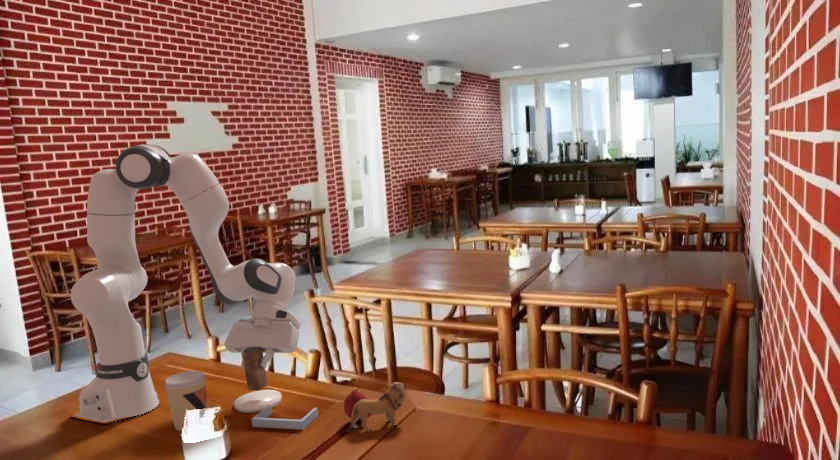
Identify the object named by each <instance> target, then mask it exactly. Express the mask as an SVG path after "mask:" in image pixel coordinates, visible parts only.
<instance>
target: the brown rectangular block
mask: <svg viewBox="0 0 840 460" xmlns="http://www.w3.org/2000/svg"><path fill="white" fill-rule="evenodd" d="M242 354H243V359H242V360H243V361H244V367H245V368H244V372H245V380H246V386H247V391H260V390H264V388H266V387H267V386H268V381H267V379H268V378H267V374H266V368H260V367H259V366H258V363H259V359H262V358H263V357H264V353H263V351H262V348H261V347H249V348H247V349H245V350H244V351H243V353H242Z"/></svg>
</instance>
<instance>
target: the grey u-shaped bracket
mask: <svg viewBox="0 0 840 460" xmlns="http://www.w3.org/2000/svg"><path fill="white" fill-rule="evenodd" d="M272 414H273V410H272V408H271V406H267V407H266V408H265V409H263V410H262V411H260V412H259V413H258V412H257V414H255V415H254V416H253V417H252V418H251V419H250V420H251V426H252V428H268V429H285V430H299V431H301V430H305V429H306V428H307V427H308V426H309V425H310V424H311V423H312V422H314V420H315V419H316V418H317V417H319V409H318V407H313V408H312V409H311V410H310V411H309V412H308V413H307V414H306V415H305V416H304V417H302V418H301V419H296V418H295V419H294V418H293V419H290V418H275V417H274V418H272V417H270V416H272Z"/></svg>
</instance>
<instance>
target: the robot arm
mask: <svg viewBox="0 0 840 460" xmlns="http://www.w3.org/2000/svg"><path fill="white" fill-rule="evenodd" d="M162 186H166V187H168V188H169V189H170V190H172V192H173V193H174V195H175V196H176V198H177V200H178V201H179V203H180V204H181V206H182V208H183V210H184V212H185V214H186V216H187V219H188V222H189V230H190V234H191V238H192V239H193V242H194V245H195V246H196V248H197V251H198V253H199V255H200V257H201V259H202V261H203V263H204V265H205V267H206V270H207V271H208V274H209V277H210V279H211V285H212V288H213V292H214V294H215V296H216V297H217V298H218V300H219V301H221V302H222V303H224V304H226V305H229V306H235V305H238V304H240V303H242V302H244V301H246V300H248V299H251V298H253V299H255V300H256V302H255V306H254V309H253V312H252V314H251V318H248V319H243V318H242V319H239V320H237V321H236V322H234V323H233V325H232V327H231V329H230V330H229V332H228V335H227V336H226V339H225V341H224V347H225V349H226V350H228V351H229V353H234V354H235V353H237V354H238V353H241V360H242V361H241V362H240V363H241V364H240V366H241V367H242V368H244V369H245V367H244V361H243V354H242V353H243V351H244V350H245V349H247V348H249V347H261V348H262V351H263V354H264V353H265V354H264V355H263V358H262V359H259V363H258V366H259V367H260V368H265V369H266V368H267V365H268V363H269V361H271V359H273V357H274V355H275V354H292V353H294V352H295V351H296V350H297V347H298V343H299V340H300V339H299V338H300V332H299V330H300V329H301V322H300V320H299V319H298V318H297V317H296V316H295V315H294V314H293V313H292V312H290V311H289V310H288V308H289V304H290V303H291V302H292V299H293V296H294V292H295V287H296V280H297V277H296V272H295V270H294V269H293V268H292V267H291V266H290V265H288V264H285V263H283V262H275V263H271V262H267V261H265V260H264V259H261V258H258V257H256V258H251V259H248V260H245V261H243V262H241V263H239V264H238V265H233V264H231V262H230V261H229V259H228V257H227V254H226V252H225V251H224V247H223V246H222V243H221V242H220V239H219V232H220V228H221V227H222V224H223V223H224V221H225V220H226V218H227V216H228V213H229V208H230V201H229V199H228V196H227V194H226V192H225V189H224V188H223V186H222V185H221V184H220V181H219V180H218V178H217V177H216V175H215V174H214V172H213V171H212V170H211V167H209V166H208V164H207V163H205V161H204V160H203V159H202V158H201V157H200V156H199V155H198V154H197V153H193V152H186V153H180V154H178V155H176V156H172V157H171V155H170V153H169V152H168V151H167V150H166V149H164V148H163V147H161V146H158V145H155V144H149V143H146V144H145V143H143V144H142V143H141V144H138V145H133V146H130V147H127V148H125V149H124V150H123V151H122V152H121V153H120V154H119V155H118V157H117V159H116V162H115V168H106V169H102V170H99V171H97V172H95V173H94V174H93V175H92V176H91V179H90V182H89V187H88V193H87V202H86V205H87V206H86V207H87V208H86V212H87V213H86V230H87V231H86V232H87V234H86V236H87V237H86V241H87V244H88V245H89V247H90V248H91V249H92V250H93V252H94V255H95V258H96V263H97V269H95V270H92V271H89V272H87V273H85V274H84V275H83V276H81V277H80V278H79V279H78V280H77V281H76V282H75V283H74V284H73V285H72V287H71V289H70V301H71V303H72V305H73V307H74V308H75V309H76V310H77V311H78V312H80V313H82V314H83V315H84V316H85V318H86V319H87V321H88V323H89V325H90V328H91V330H92V333H93V335H94V339H95V345H96V349H97V354H98V363H96V364H93V365H92V366H91V368H92V369H91V370H92V371H94V370H96V372H95V377H94V378H93V379H92V380H91V381H90V382H89V383H88V384H87V385H86V386H85V387H84V388H83V389H82V390H81V391H80V393H79V397H78V399H79V407H80V411H79V412H80V413H78V412H77V414H76V413H75V414H76V415H75V414H73V415H75V416H78V417H83V418H86V419H91V420H95V421H100V422H108V421H111V420H115V419H119V418H124V417H132V416H136V417H138V416H137V415H139V416H142V415H144V413H145V414H147V413H149V412H151V411H153V410H155V409H156V408H157V407H159V405H160V403H159V402H160V400H159V398H158V393H157V391H156V390H155V386H154V383H153V380H152V376H151V372H150V369H149V368H150V363H149V356H148V354H147V352H146V349H145V343H144V336H143V331H142V326H141V323H139V322H138V321H136V319H134V316H133V315H132V312H131V310H130V308H129V302H131V301H133V300H135V299H136V298H138V296H140V294H142V292H144V289H145V288H146V286H147V284H148V275H147V271H146V270H145V268H144V267H143V265H141V261H140V258H139V253H138V251H137V249H138V248H137V245H136V244H137V243H136V220H135V219H136V196H137V194H138V192H139V191H140V190H146V189H151V188H156V187H162ZM158 404H159V405H158ZM152 409H153V410H152ZM148 411H149V412H148ZM146 412H147V413H146ZM78 414H79V415H78ZM141 414H142V415H141ZM102 419H103V420H102Z"/></svg>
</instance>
